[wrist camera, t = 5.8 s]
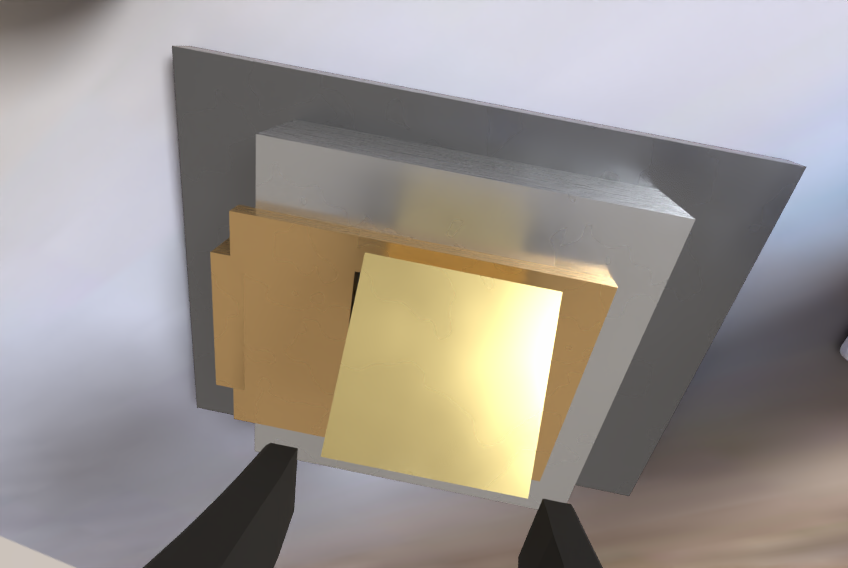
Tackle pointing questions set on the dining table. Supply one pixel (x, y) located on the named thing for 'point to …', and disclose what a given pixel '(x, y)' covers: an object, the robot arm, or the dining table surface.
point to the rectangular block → (443, 375)
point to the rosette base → (455, 249)
